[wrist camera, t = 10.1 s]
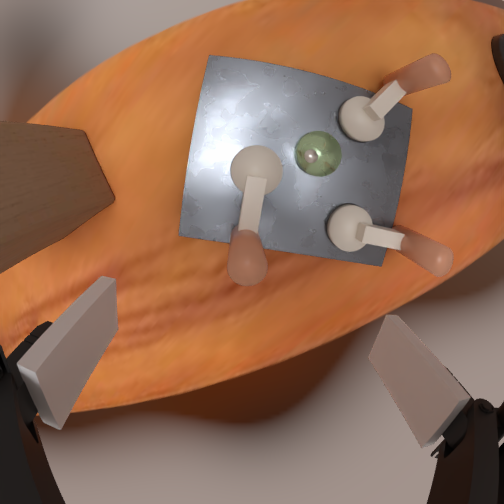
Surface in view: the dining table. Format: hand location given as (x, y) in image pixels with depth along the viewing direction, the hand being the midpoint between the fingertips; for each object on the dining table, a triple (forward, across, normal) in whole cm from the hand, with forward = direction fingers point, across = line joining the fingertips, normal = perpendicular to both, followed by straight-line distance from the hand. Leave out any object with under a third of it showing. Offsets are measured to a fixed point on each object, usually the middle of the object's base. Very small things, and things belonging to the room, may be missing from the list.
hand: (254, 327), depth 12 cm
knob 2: (+18, +12, +17) cm, 27 cm away
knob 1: (+18, 0, +4) cm, 18 cm away
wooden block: (+20, -22, +3) cm, 30 cm away
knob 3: (+18, +14, +3) cm, 23 cm away
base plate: (+19, +5, +9) cm, 22 cm away
